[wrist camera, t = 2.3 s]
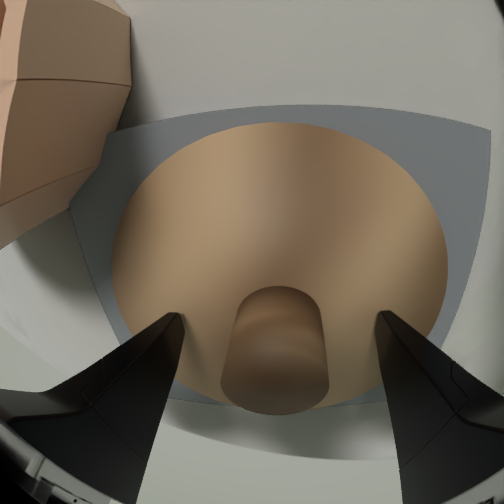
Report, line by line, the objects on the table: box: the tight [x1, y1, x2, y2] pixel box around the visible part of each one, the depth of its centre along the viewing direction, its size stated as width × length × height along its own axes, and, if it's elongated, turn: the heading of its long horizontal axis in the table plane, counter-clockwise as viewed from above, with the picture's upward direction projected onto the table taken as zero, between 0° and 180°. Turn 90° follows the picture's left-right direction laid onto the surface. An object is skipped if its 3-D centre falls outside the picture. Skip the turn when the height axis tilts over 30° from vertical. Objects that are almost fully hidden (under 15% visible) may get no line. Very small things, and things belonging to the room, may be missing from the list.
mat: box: [69, 105, 491, 407], centre depth 10 cm, size 16×14×1 cm
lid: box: [111, 122, 448, 415], centre depth 8 cm, size 13×13×4 cm
